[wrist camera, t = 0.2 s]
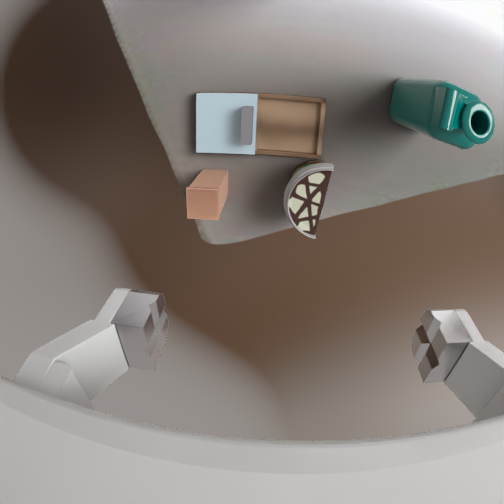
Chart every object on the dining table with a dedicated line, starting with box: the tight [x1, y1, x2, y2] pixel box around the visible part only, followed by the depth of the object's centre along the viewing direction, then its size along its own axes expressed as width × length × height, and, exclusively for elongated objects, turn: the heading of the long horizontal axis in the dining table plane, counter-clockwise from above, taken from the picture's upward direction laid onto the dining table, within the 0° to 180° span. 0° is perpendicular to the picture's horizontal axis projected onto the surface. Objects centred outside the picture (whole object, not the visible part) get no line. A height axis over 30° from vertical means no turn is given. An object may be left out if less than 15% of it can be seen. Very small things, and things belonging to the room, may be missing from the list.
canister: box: [186, 169, 229, 220], centre depth 51 cm, size 5×5×11 cm
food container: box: [283, 160, 334, 239], centre depth 51 cm, size 12×6×10 cm, turn 171°
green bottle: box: [389, 78, 495, 149], centre depth 36 cm, size 10×8×22 cm
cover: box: [196, 93, 258, 155], centre depth 48 cm, size 10×10×4 cm
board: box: [196, 92, 326, 159], centre depth 50 cm, size 10×21×1 cm, turn 88°
